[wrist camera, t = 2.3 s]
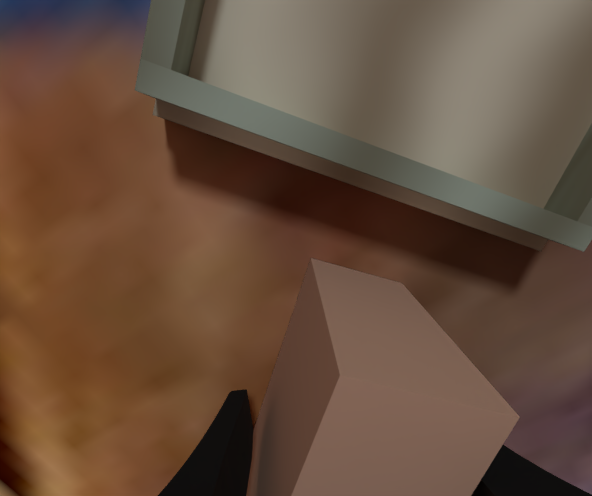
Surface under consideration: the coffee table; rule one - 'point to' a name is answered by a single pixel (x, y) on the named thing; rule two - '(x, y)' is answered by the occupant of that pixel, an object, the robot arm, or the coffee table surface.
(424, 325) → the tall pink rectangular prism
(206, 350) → the coffee table surface
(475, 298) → the coffee table surface
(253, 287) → the coffee table surface
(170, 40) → the shallow square tray
